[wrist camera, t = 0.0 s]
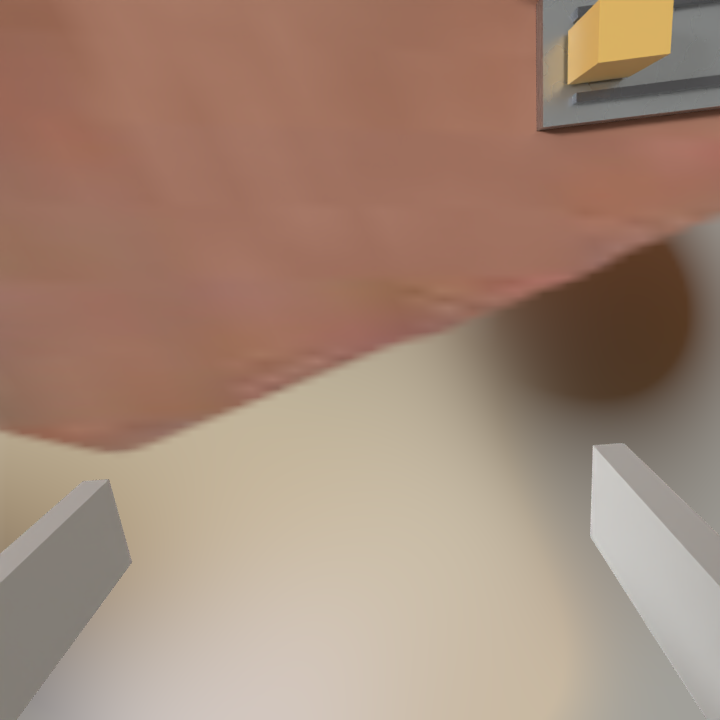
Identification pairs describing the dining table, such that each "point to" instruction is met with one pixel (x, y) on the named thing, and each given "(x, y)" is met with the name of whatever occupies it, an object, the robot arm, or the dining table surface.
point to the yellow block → (618, 39)
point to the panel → (643, 89)
